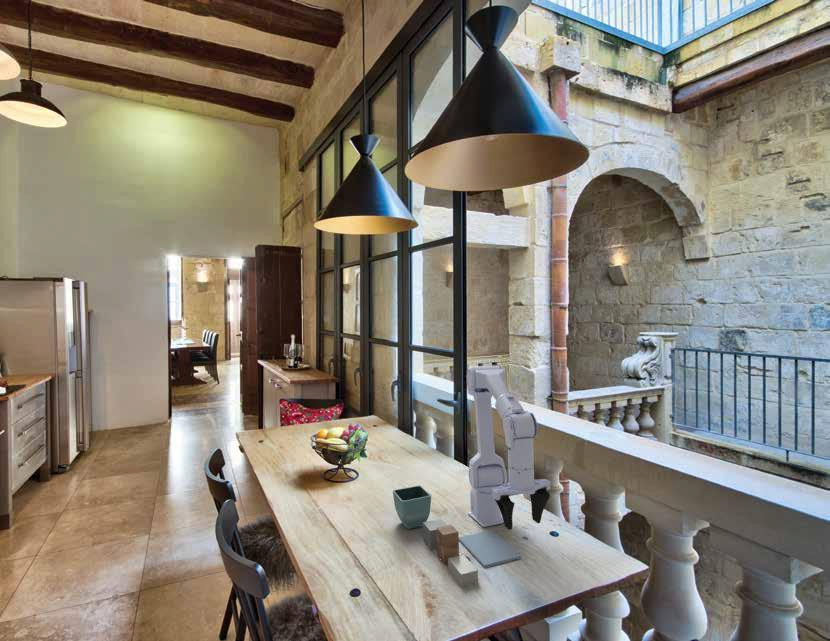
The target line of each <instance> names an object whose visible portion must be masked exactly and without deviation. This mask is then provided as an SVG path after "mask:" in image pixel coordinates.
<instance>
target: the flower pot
mask: <svg viewBox="0 0 830 641" xmlns="http://www.w3.org/2000/svg"><path fill="white" fill-rule="evenodd" d="M392 497H393V504H394V508H395V509H394V510H395V511H396V514H397V516H398V518H399V520H400V521H401V523H402V525H404V527H405V528H406V530H407V529H408V530H411V529H415V528H421V527H423V522H428V519H429V517H430V513H431V504H432V495H431V493H430V492H428V491H427V490H426V489H425V488H424V487H423V486H422V485H414V486H410V487H404V488H398V489H393V490H392Z"/></svg>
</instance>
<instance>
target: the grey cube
mask: <svg viewBox="0 0 830 641" xmlns="http://www.w3.org/2000/svg"><path fill="white" fill-rule="evenodd" d="M446 525H447V524H446V523H445V522H444V520H443V519H441V518H438V519H433V520H427V521H426V522H423V526H422V527H423V528H422V529H423V530H422V531H423V535H422V536H423V542H424V544H425V545H426V546H427V547H428V549H429V550H430V551H434V550H433V549H435V550H437V527H442V526H446Z"/></svg>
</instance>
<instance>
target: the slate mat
mask: <svg viewBox="0 0 830 641" xmlns="http://www.w3.org/2000/svg"><path fill="white" fill-rule="evenodd" d="M459 542H460V543H461V544H462V545H463V547H464V546H465V547H466V548H467V549H468V550H469V551H470V552H471V553H472V554H473V555H472V554H471V553H470V552H469V551H468V550H467V549H466V548H465V547H464V548H465V549H466V550H467V551H468V552H469V553H470V554H471V555H472V556H473V557H474V558H475V560H476V561H479V562H480V563H479V562H478V563H479V564H480V565H481V566H482V567H483V568H488V567H493V566H497V565H500V563H501V564H504V562H505V563H508V561H509V562H512V561H511V560H513V561H516V560H515V559H517V560H521V559H522V555H521V554H520V553H519V552H517V551H516V550H515V549H514V548H513V547H512V546H510V545H509V543H507V542H506V541H505V540H504V539H503V538H502V537H500V536H499V535H498V534H497V533H496V532H495V531H494V530H492V529H491V530H485V531H482V532H477V533H473V534H469V535H463V536H459ZM520 558H521V559H520Z"/></svg>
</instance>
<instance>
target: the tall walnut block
mask: <svg viewBox="0 0 830 641" xmlns="http://www.w3.org/2000/svg"><path fill="white" fill-rule="evenodd" d="M459 537H460V536H459V531H458V530H457V529H456V528H455V526H454V525H453V524H446V526H442V527H437V549H436V552H437V553H436V555H437V557H438V559H439V558H440V559H441V560H440V559H439V560H440V561H441V563H442V562H443V563H444V564H443V565H447V564H446V563H448V558H451V557H455V556H459V555H460V543H459V542H460V541H459Z"/></svg>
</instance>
